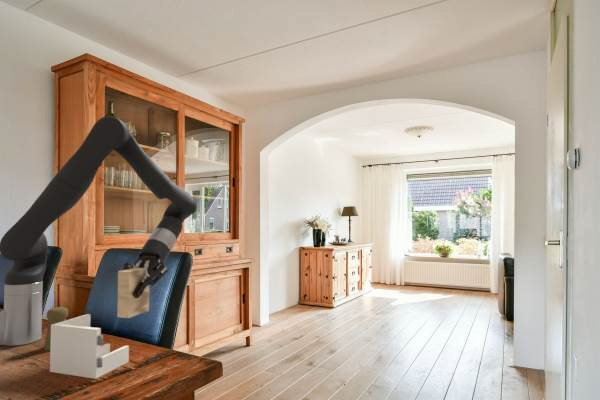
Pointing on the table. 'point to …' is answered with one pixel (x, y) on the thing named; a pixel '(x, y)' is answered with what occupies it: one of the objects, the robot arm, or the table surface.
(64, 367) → the white open box
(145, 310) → the block
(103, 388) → the table surface
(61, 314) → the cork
